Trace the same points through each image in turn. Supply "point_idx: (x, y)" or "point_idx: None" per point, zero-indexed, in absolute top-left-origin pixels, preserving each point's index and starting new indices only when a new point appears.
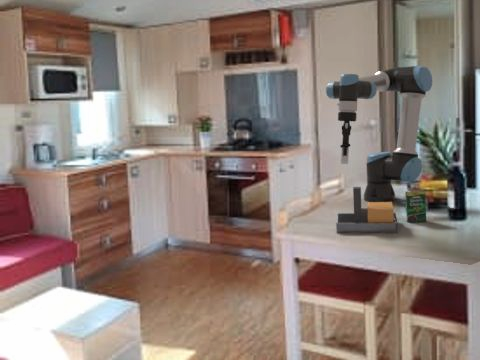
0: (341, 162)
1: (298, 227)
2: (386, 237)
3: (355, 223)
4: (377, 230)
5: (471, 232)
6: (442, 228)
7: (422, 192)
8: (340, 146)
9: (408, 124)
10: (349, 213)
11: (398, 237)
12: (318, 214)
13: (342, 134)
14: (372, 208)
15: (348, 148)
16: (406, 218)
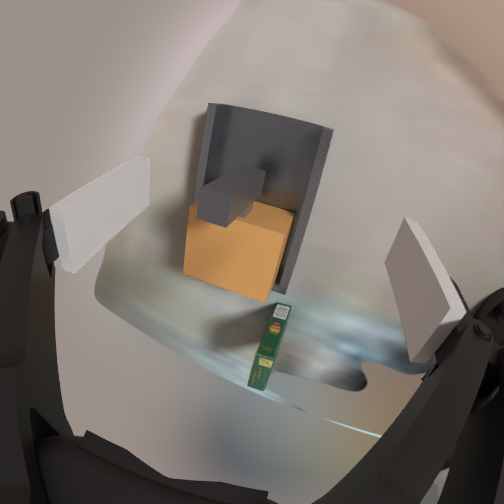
0: (133, 161)
1: (302, 8)
2: (170, 216)
3: (199, 157)
4: None
5: (189, 355)
6: (217, 335)
7: (248, 380)
8: (20, 195)
9: None
10: (319, 167)
11: (168, 239)
12: (442, 99)
13: (11, 364)
14: (199, 224)
15: (64, 264)
16: (286, 308)
